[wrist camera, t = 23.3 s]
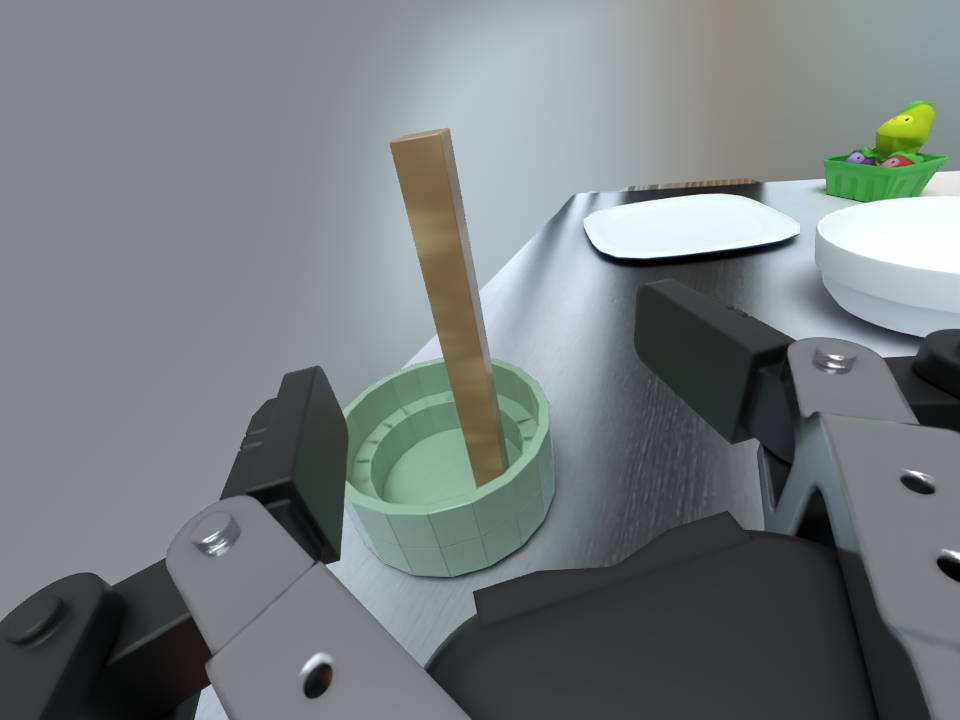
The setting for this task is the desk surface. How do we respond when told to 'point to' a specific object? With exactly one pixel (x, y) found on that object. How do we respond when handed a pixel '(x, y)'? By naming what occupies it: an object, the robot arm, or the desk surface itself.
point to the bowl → (895, 262)
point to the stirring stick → (452, 291)
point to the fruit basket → (888, 160)
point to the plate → (687, 227)
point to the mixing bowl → (444, 472)
